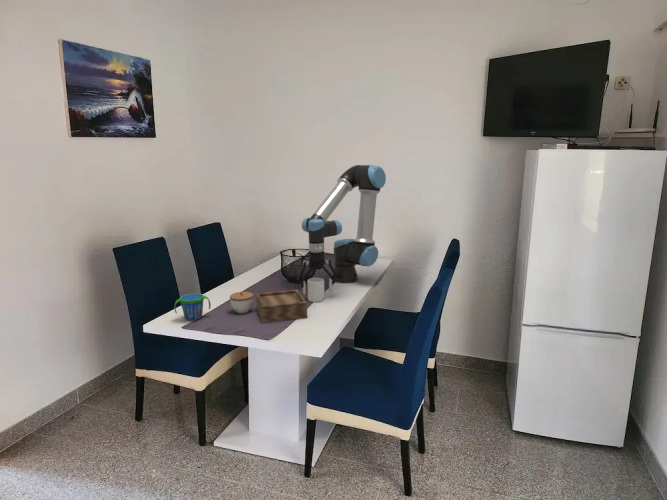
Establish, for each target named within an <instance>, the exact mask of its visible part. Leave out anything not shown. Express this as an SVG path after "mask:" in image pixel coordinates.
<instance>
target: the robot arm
mask: <svg viewBox="0 0 667 500" xmlns="http://www.w3.org/2000/svg"><path fill="white" fill-rule="evenodd" d="M386 180H387V177H386V172H385V170H384V168H382V167H381V166H379V165H373V164H372V165H371V164H368V165H367V164H366V165H365V164H356V165H353V166H351V167H349V168H348V169H347V170H345V171H344V172H343V173H342V174H341V175H340V177H338V178H337V182H336V185H334V187H333V188H332V190H331V191H330V192H329V193H328V195H327V196H326V197H325V198H324V200H323V201H322V202H321V203H320V205H319V206H318V207H317V209H316V210H315V211H314V213H313V214H312V215H311V216H310V217H305V218H304V219H303V220H302V221H301V229H302V231H304V232H305V233H308V250H309V252H308V256H309V257H308V261H306V260H303V261H302V266H301V268H300V269H299V272H298V275H297V277H296V280H297V281H300V288H302V294H303V295H306V293H307V292H306V281H305V280H306V278H307V277H308V276H309V275H310V273H311V272H312V271H313V270H314V271H317V270H323V271H324V272H325V273H326V274H327V275H328V276H329V278H328V290H329V292H331V293H332V292H333V285H334V284H335V283H339V282H340V284H341V283H343V284H345V283H346V284H348V282H349V283H355V282H356V280H357V281H358V279H359V275H358V273H357V268H356V266H355V265H357V266H361V267H371V266H373V265H374V264H375V263H376V262H377V260H378V258H379V250H378V247H377V246H376V245H375V244H376V242H375V240H374V239H373V236H374V235H373V234H374V228H375V217H376V207H377V206H376V205H377V198H378V197H377V196H378V194H379V193H381V189H382V188H383V187H384V186H385V185H386V182H387V181H386ZM355 188H358V191H359V193H360V199H359V210H358V220H357V232H356V237H355V239H354V238H344V239H343V238H342V239H337V240H336V241H334V242H333V263H334V264H333V265H332V261H331V259H330V258H327V259H325V239H326V238H329V237H333V236H334V237H335V236H338V235H340V234H341V233H342V231H343V225H342V223H341V221H339V220H338V219H337V220H334V219H333V220H328V219H329V217H330V216H331V215H332V214H333V213H334V212H335V210H336V209H337V207H338V206H339V205H340V203H341V202H342V201H343V199H344V198H345V197H346V195H348V193H349V192H351V191H353V189H355ZM325 264H327V265H328V267H329V269H330V271H331V273H330V271H329V270H328V269H327V268H326V267H325ZM307 266H308V268H307V270H306V267H307ZM305 270H306V271H305Z"/></svg>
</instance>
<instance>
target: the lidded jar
mask: <svg viewBox="0 0 667 500" xmlns="http://www.w3.org/2000/svg"><path fill="white" fill-rule="evenodd" d="M229 301H230V306H231V308H232V309H233V310H234V311H235V312H236V313H237V314H245V313H248V312H250V310H251V309H252V307H253V305H254V293H252V292H249V291H238V292H234V293H233V292H232V293H231V294H230V295H229Z"/></svg>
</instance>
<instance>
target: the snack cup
mask: <svg viewBox="0 0 667 500" xmlns="http://www.w3.org/2000/svg"><path fill="white" fill-rule="evenodd" d="M205 299H206V300H207V301H208V310H211V307H212V305H211V301H210V298H209V297H208V296H207V295H204V294H202V293H195V292H194V293H186V294H183V295H182V296H180V297H179V298H177V299H176V301H175V302H174V305H173V307H174V308H173V309H174V313H175V314H177V309H176V305H177V304H178V303H180V305H181V308H182V311H183V315H184V319H185V320H186V321H191V322H192V321H197V320H200V319H202V317H203V314H204V313H203V312H204V309H203V308H204V300H205Z"/></svg>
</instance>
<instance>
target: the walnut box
mask: <svg viewBox="0 0 667 500" xmlns="http://www.w3.org/2000/svg"><path fill="white" fill-rule="evenodd" d="M255 297H256V309H257V312H258V314H259V318H260V320H261V322H262V323H272V322H273V323H274V322H279V321H290V320H298V319H307V318H308V301H307V300H306V298H304V296H303V295H302V294H301V292H300V291H299V289H291V290H290V289H289V290H281V291H270V292H260V293H258V292H257V293H256V296H255Z"/></svg>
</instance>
